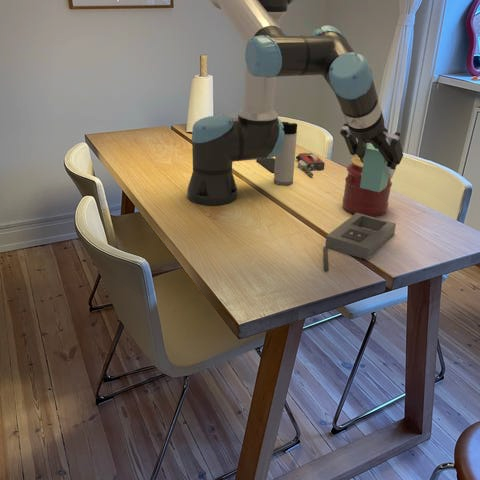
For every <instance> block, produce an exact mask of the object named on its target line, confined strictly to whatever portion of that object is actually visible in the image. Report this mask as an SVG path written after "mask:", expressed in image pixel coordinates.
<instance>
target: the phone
mask: <svg viewBox="0 0 480 480" xmlns="http://www.w3.org/2000/svg"><path fill="white" fill-rule="evenodd" d="M255 162H256V163H258V165H260V166H261V167H263V168H264V169H265V170H267V171H268V172H270V173H271V174H274V170H275V157H272V158H266V159H263V160H262V159H257V160H256V161H255Z"/></svg>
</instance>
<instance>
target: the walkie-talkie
mask: <svg viewBox="0 0 480 480" xmlns="http://www.w3.org/2000/svg"><path fill="white" fill-rule="evenodd" d="M295 160H297V163H298V164H297V167H298V168H299V170H300V171H305V172H306V173H307V174H309V175H310V176H311V177H314V173H313V172H312V171H321V170H322V171H324V170H325V165H326V164H325V162H324V161H323V160H321V158H319V156H317V155H316V154H314V153H313V152H301V153H298V154H297V155H295Z"/></svg>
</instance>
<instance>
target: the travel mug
mask: <svg viewBox="0 0 480 480" xmlns="http://www.w3.org/2000/svg"><path fill="white" fill-rule="evenodd" d="M281 122H282V123H283V127H284V129H283V131H284V142H283V146H282V148H281V150H280V152H279V153H278V154H277V155H276V156H274V159H275V170H274V173H273V182H274V183H275V184H277V185H279V186H280V185H281V186H290V185H292V184H293V183H294V172H295V161H296V149H297V136H298V135H297V134H298V123H295V122H293V123H291V122H289V121H281Z"/></svg>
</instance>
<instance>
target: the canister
mask: <svg viewBox="0 0 480 480" xmlns="http://www.w3.org/2000/svg"><path fill="white" fill-rule="evenodd" d="M350 162H351V163H349V164H348V165H347V167H346V171H347V176H346V177H345V184H344V193H343V196H342V208H343V209H344V210H345V211H347V212H348V213H351V214H353V215H354V214H355V213H360V214H364V215H367V216H371V217H378V216H383V215H384V214H385V213H386V212H387V209H388V207H389V198H390V194H391V193H390V192H391V187H392V186H393V183H392V181H391V180H392V178H389V177H388V183H387V187H386V188H384V189H383V190H382V191H380V192H376V191H372V190H368V189H364V188H360V183H361V176H362V169H363V163H362V162H361V160H360V158H359V157H358V155H356V156H354V157H352V158H351V159H350Z"/></svg>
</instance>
